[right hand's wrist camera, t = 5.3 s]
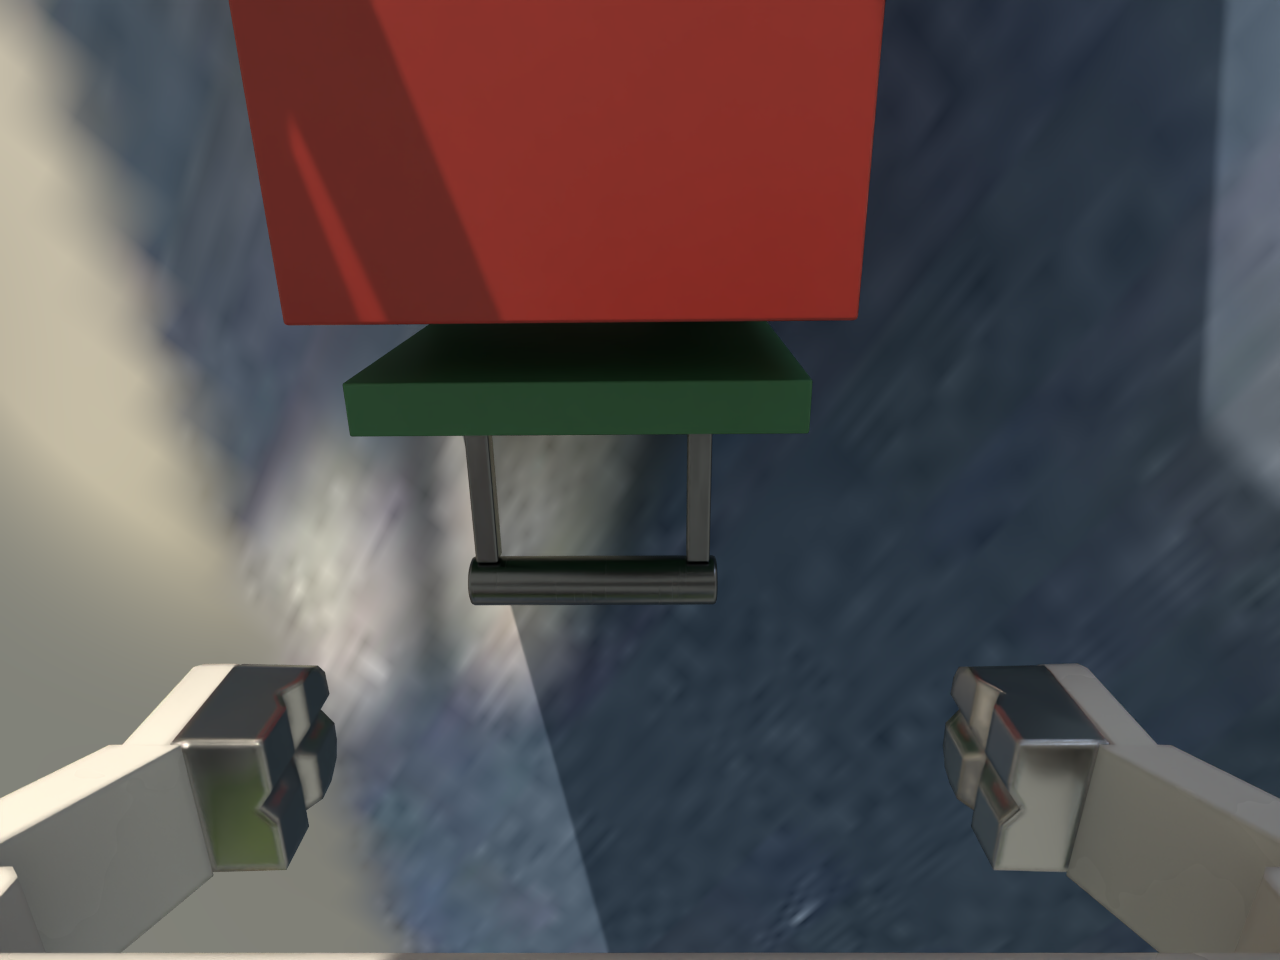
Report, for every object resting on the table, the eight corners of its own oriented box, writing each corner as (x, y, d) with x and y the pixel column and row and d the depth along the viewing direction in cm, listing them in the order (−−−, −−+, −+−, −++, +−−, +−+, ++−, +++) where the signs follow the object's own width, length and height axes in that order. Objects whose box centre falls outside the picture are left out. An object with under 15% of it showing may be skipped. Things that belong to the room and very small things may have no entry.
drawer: (755, 527, 26) (793, 657, 19) (453, 529, 26) (382, 658, 19) (806, -595, 17) (917, -1136, 10) (337, -582, 17) (118, -1107, 10)
